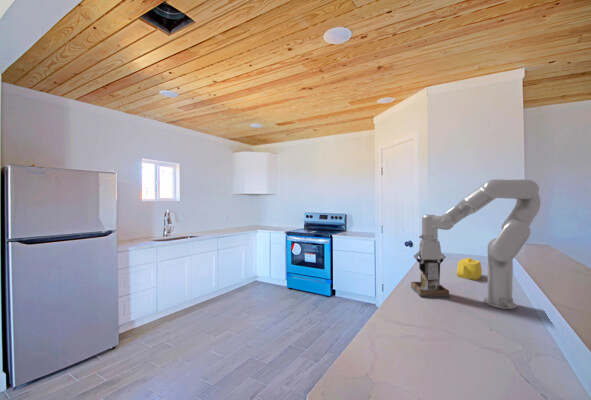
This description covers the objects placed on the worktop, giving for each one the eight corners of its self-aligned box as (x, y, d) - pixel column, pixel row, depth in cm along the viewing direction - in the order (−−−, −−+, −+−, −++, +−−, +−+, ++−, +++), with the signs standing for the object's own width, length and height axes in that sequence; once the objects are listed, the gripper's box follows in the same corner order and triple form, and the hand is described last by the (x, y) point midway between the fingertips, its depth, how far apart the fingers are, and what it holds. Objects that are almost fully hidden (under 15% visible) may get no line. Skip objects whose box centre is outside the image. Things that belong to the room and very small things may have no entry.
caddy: (449, 297, 140) (449, 290, 140) (420, 297, 141) (420, 290, 141) (436, 288, 154) (436, 282, 154) (411, 287, 155) (411, 281, 155)
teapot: (475, 282, 165) (476, 262, 165) (453, 278, 174) (453, 259, 174) (484, 275, 179) (484, 257, 178) (462, 271, 188) (462, 254, 187)
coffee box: (439, 293, 143) (440, 263, 143) (427, 293, 143) (428, 262, 143) (431, 287, 152) (432, 258, 152) (419, 287, 152) (420, 258, 152)
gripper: (415, 238, 144) (415, 272, 144) (450, 239, 143) (449, 273, 143) (410, 236, 152) (410, 268, 152) (443, 237, 150) (443, 269, 151)
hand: (429, 270), depth 148 cm, fingers open, 7 cm apart
